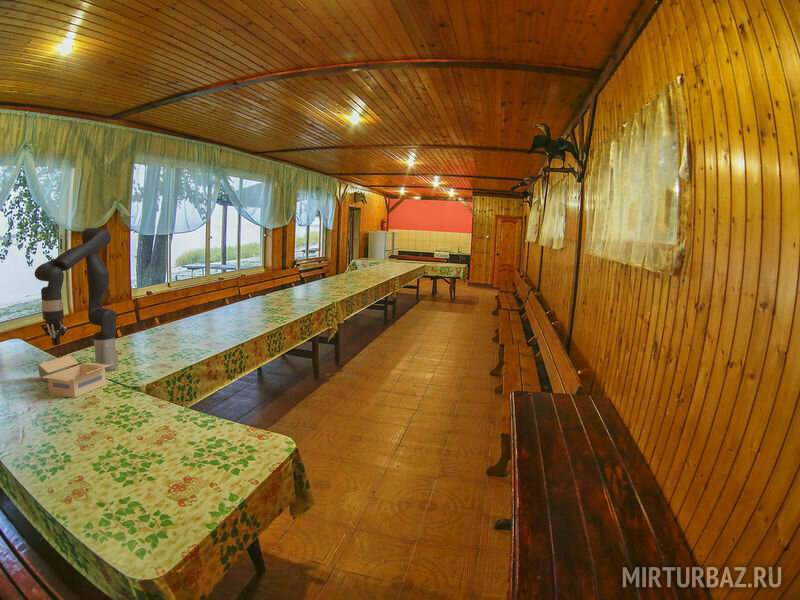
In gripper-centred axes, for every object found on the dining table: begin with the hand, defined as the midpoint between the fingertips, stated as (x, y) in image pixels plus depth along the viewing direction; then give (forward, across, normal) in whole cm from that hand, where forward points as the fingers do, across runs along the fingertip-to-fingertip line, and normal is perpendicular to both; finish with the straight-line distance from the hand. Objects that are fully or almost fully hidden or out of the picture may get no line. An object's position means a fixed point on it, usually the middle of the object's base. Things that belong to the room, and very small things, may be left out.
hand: (56, 344), depth 194 cm
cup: (+21, +12, -5) cm, 25 cm away
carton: (+21, -10, 0) cm, 23 cm away
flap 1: (+9, -1, 0) cm, 9 cm away
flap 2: (+10, -21, 0) cm, 23 cm away
